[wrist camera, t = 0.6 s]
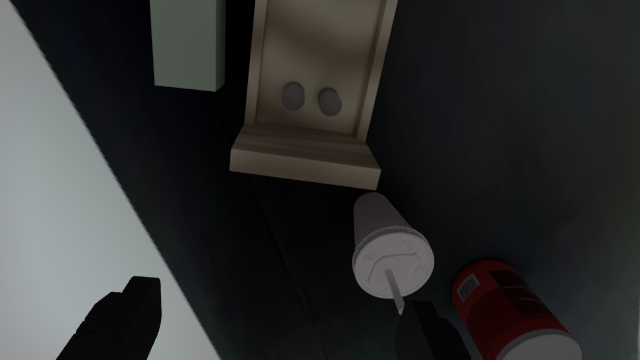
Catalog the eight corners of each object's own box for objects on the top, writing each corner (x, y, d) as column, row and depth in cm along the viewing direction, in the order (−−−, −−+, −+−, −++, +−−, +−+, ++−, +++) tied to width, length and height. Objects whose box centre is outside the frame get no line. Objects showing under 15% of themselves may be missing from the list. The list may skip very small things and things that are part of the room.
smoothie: (328, 200, 36) (345, 297, 24) (385, 168, 35) (434, 252, 23) (359, 245, 39) (389, 355, 26) (412, 216, 38) (472, 317, 25)
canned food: (449, 316, 44) (495, 405, 34) (447, 263, 40) (497, 343, 30) (513, 305, 44) (577, 390, 33) (515, 250, 40) (588, 327, 30)
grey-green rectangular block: (164, -92, 26) (143, -110, 23) (227, -82, 27) (216, -98, 23) (171, 77, 31) (155, 84, 27) (225, 83, 32) (215, 91, 28)
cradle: (268, -106, 26) (255, -163, 18) (406, -75, 27) (453, -115, 19) (246, 133, 33) (229, 170, 25) (357, 149, 34) (375, 190, 26)
